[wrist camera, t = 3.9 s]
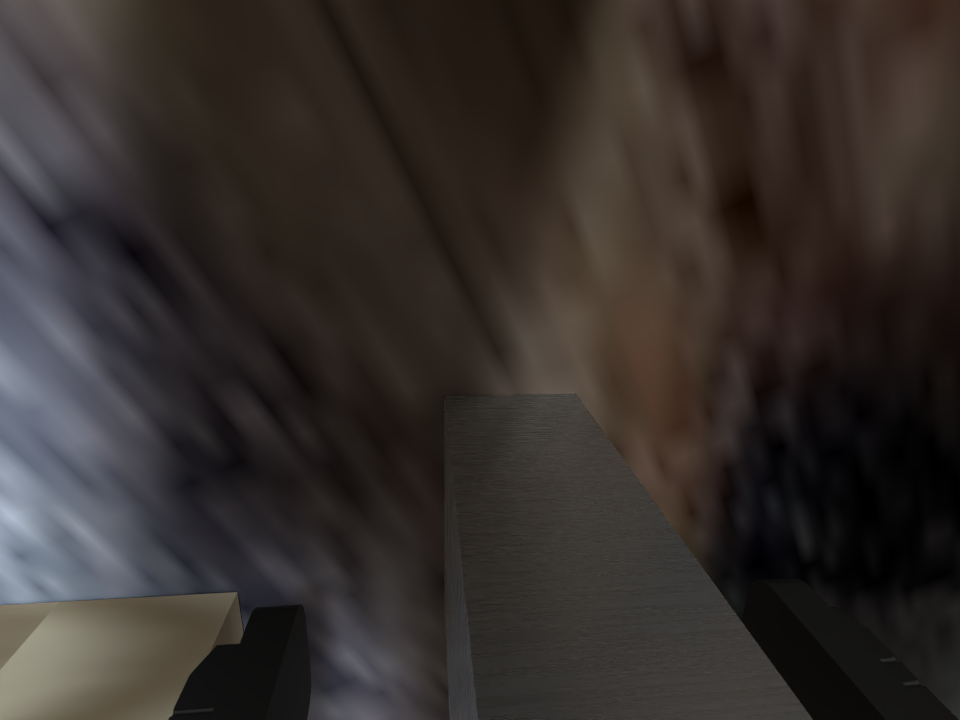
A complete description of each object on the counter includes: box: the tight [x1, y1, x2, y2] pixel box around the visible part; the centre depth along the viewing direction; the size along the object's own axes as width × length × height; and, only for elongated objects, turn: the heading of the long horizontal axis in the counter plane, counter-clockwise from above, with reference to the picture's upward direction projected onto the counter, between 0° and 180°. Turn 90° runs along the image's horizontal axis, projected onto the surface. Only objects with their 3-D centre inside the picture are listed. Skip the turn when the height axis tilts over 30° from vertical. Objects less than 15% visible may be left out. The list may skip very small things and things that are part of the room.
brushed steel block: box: [444, 393, 813, 720], centre depth 9 cm, size 3×6×9 cm, turn 179°
